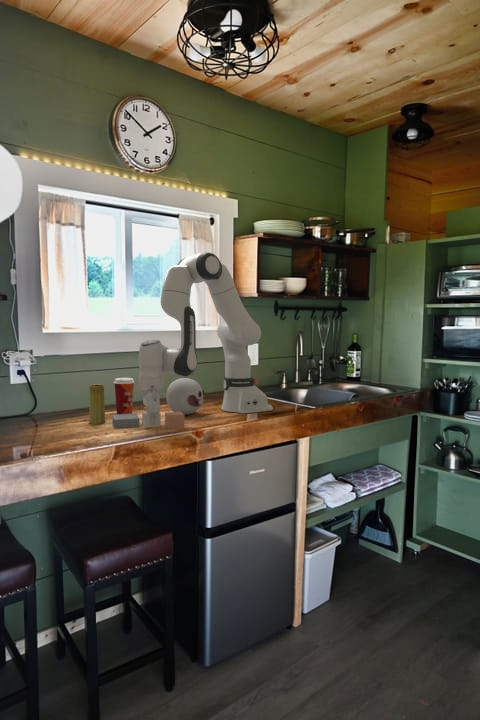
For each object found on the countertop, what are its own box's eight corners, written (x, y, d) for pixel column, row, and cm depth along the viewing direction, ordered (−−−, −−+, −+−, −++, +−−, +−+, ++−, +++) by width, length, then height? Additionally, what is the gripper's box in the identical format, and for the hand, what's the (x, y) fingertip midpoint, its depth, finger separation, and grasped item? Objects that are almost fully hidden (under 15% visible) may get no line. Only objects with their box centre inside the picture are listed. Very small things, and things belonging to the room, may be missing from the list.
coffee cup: (129, 418, 196) (129, 380, 194) (110, 417, 198) (110, 379, 196) (138, 413, 204) (138, 377, 203) (119, 412, 206) (119, 377, 204)
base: (136, 421, 191) (136, 413, 191) (139, 426, 183) (139, 418, 182) (112, 422, 188) (112, 414, 188) (114, 427, 180) (114, 419, 179)
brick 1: (158, 423, 188) (158, 410, 188) (160, 426, 182) (160, 413, 182) (142, 424, 186) (142, 411, 186) (144, 427, 181) (144, 414, 180)
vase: (108, 421, 190) (108, 384, 188) (99, 424, 184) (98, 387, 183) (95, 420, 192) (94, 383, 190) (85, 423, 186) (84, 385, 185)
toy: (196, 419, 195) (196, 381, 194) (160, 416, 199) (160, 379, 197) (208, 411, 210) (208, 376, 208) (174, 409, 213) (174, 375, 212)
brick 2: (180, 424, 187) (180, 411, 186) (184, 428, 181) (184, 414, 181) (165, 425, 185) (165, 412, 184) (168, 429, 179) (168, 415, 179)
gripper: (164, 388, 174) (164, 426, 175) (155, 380, 193) (155, 415, 195) (145, 389, 172) (146, 428, 173) (139, 380, 191) (139, 415, 193)
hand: (151, 421), depth 184 cm, fingers closed on brick 1, 6 cm apart
